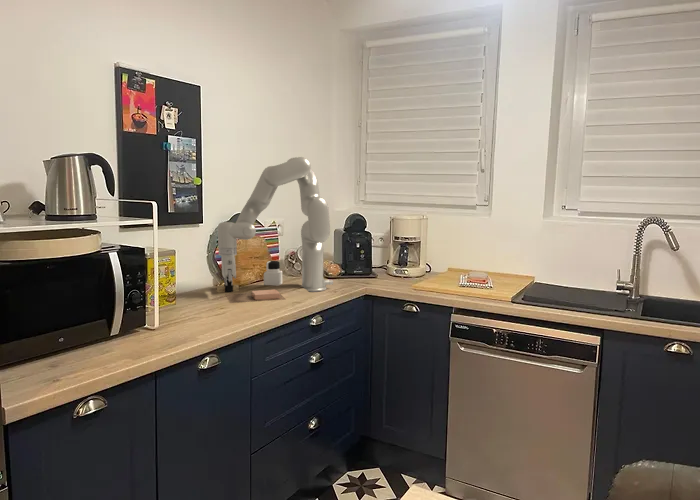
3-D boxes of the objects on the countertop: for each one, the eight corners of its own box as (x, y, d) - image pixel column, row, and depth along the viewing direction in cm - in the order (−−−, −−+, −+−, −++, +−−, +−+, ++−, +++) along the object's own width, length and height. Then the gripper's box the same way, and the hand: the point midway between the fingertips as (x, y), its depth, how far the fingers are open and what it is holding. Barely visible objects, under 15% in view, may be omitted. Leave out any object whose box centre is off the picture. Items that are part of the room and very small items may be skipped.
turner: (255, 291, 231) (255, 283, 231) (258, 294, 225) (258, 286, 225) (216, 293, 225) (216, 285, 225) (218, 296, 219) (218, 288, 218)
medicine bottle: (282, 285, 245) (282, 260, 243) (278, 288, 238) (278, 262, 236) (267, 285, 246) (267, 259, 244) (263, 288, 239) (263, 262, 237)
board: (277, 294, 225) (277, 291, 225) (285, 302, 210) (285, 299, 210) (225, 297, 218) (225, 294, 217) (230, 306, 203) (230, 302, 203)
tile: (275, 289, 218) (279, 293, 211) (275, 294, 219) (279, 298, 211) (251, 290, 215) (255, 294, 208) (251, 295, 215) (255, 300, 208)
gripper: (239, 253, 215) (240, 297, 218) (233, 248, 230) (234, 289, 233) (220, 254, 213) (222, 298, 215) (216, 249, 227) (217, 290, 230)
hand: (228, 293), depth 224 cm, fingers closed on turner, 2 cm apart
